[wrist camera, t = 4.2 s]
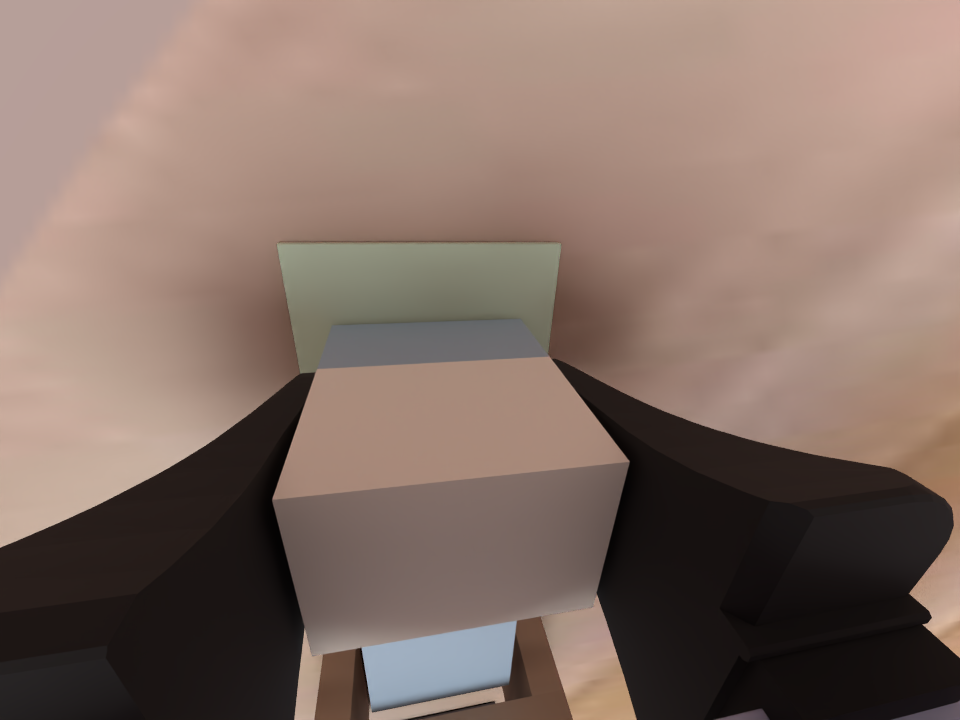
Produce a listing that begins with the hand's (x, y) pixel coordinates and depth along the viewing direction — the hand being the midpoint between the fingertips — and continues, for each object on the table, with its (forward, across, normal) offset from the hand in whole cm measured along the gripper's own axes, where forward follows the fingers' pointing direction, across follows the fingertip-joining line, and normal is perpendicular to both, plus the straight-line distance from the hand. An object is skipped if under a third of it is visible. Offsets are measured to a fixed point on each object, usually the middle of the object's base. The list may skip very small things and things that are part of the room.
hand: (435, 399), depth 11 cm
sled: (+1, 0, +5) cm, 5 cm away
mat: (+2, 0, 0) cm, 2 cm away
